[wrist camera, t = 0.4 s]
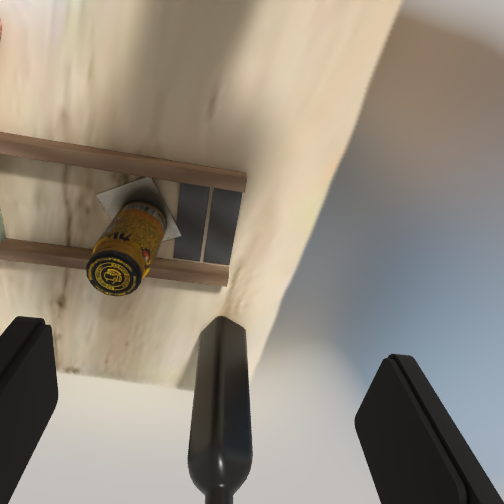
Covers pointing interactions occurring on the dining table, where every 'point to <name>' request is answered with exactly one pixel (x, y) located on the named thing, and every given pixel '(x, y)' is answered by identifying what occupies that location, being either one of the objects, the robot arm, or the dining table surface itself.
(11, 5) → the dining table surface
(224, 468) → the wine bottle
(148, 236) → the condiment
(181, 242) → the trap lane
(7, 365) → the robot arm
